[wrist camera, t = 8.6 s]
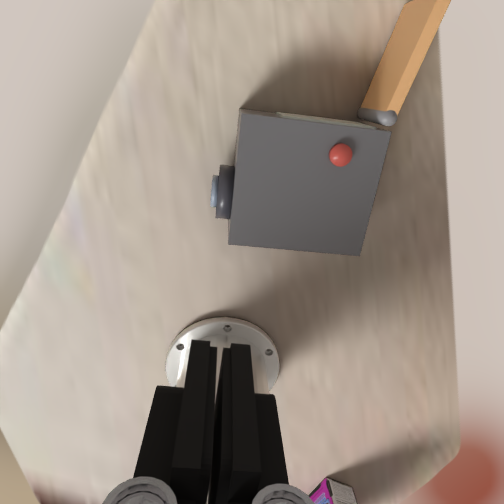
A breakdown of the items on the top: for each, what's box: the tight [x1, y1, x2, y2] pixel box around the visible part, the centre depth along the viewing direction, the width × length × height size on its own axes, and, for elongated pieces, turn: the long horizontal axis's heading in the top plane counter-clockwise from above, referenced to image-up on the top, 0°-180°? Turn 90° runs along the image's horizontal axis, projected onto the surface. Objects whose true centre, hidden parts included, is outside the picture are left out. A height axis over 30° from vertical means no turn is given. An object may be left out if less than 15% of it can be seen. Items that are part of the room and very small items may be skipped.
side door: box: [357, 0, 451, 126], centre depth 28 cm, size 2×9×6 cm, turn 161°
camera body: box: [211, 108, 391, 256], centre depth 31 cm, size 10×13×7 cm
